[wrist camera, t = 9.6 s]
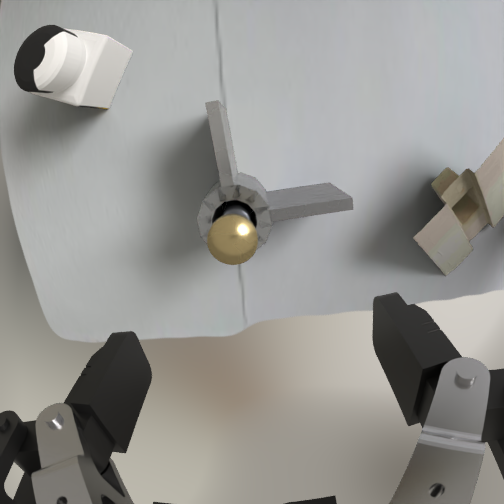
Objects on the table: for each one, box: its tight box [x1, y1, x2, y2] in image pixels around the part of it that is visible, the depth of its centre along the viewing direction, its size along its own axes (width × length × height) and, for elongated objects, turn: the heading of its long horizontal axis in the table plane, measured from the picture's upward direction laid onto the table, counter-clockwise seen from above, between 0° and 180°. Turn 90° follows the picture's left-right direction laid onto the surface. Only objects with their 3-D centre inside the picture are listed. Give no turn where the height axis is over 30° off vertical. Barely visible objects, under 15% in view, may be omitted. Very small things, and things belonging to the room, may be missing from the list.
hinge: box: [197, 100, 353, 250], centre depth 28 cm, size 13×13×8 cm
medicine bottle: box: [14, 25, 133, 109], centre depth 22 cm, size 7×7×12 cm
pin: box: [207, 200, 258, 265], centre depth 27 cm, size 3×3×13 cm
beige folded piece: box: [413, 138, 504, 276], centre depth 30 cm, size 16×9×15 cm
